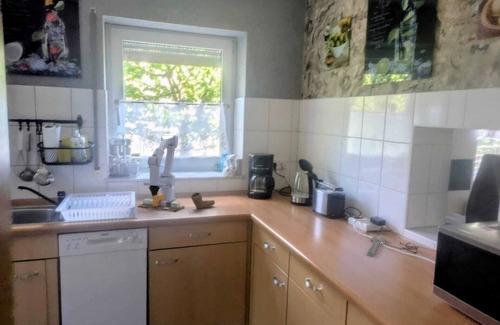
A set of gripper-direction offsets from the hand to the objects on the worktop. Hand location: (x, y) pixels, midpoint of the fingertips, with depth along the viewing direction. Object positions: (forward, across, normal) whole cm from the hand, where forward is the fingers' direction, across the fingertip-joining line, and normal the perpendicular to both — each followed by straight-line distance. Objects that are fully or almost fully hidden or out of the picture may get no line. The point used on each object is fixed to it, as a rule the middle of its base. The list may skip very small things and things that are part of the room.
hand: (154, 197), depth 211 cm
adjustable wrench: (+6, +126, -20) cm, 128 cm away
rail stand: (+5, +5, 0) cm, 7 cm away
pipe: (+6, +28, +10) cm, 30 cm away
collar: (+4, +3, 0) cm, 5 cm away
